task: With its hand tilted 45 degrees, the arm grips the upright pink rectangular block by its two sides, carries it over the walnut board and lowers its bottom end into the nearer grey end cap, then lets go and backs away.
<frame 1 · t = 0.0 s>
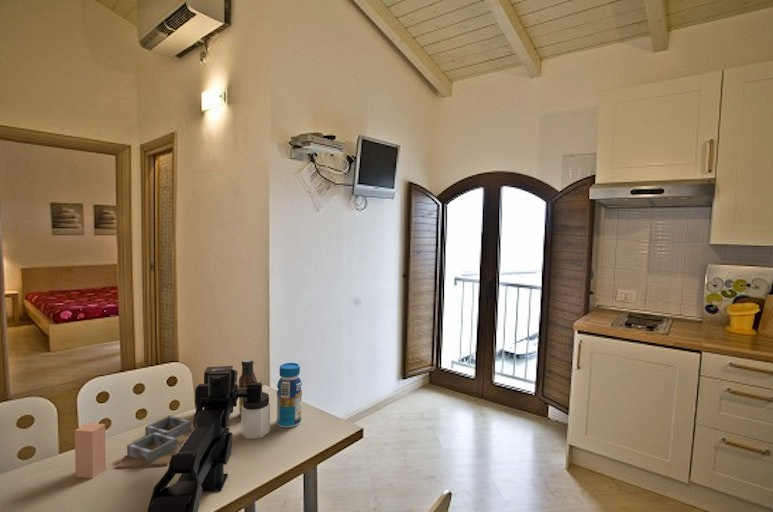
hand: (236, 384, 125), 17 cm above the table, tool horizontal, fingers open, 9 cm apart
sauce bottle: (248, 415, 139), on the table
beverage bottle: (289, 423, 135), on the table
coffee box: (218, 413, 141), on the table
cap board: (161, 443, 119), on the table
pink rectangular block: (90, 472, 104), on the table
jar: (255, 433, 127), on the table
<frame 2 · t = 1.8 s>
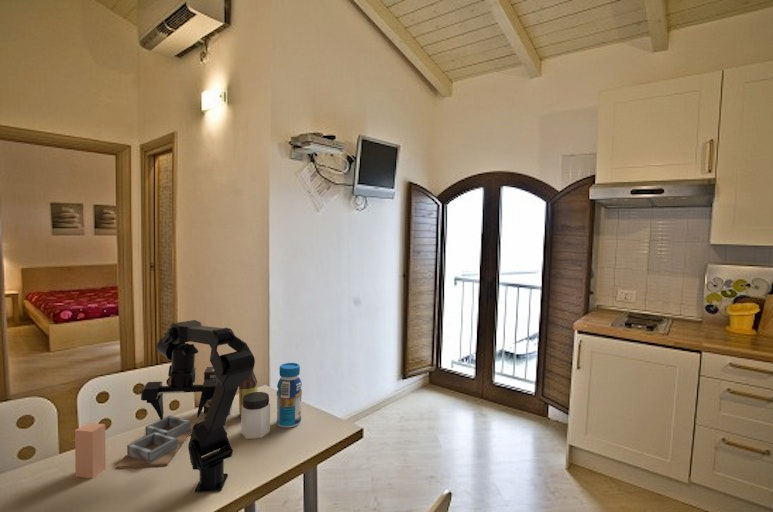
hand: (180, 417, 111), 12 cm above the table, tool pointing down, fingers open, 9 cm apart
nothing on the table moved.
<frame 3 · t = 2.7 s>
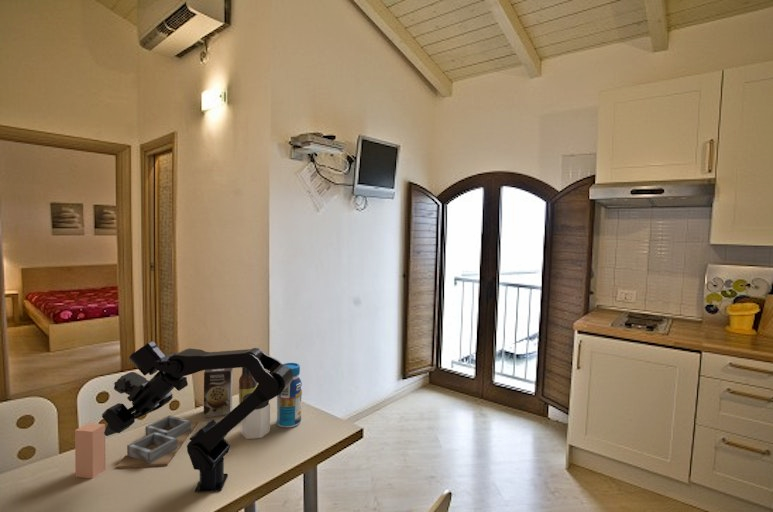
hand: (119, 425, 103), 13 cm above the table, tool tilted 45°, fingers open, 9 cm apart
nothing on the table moved.
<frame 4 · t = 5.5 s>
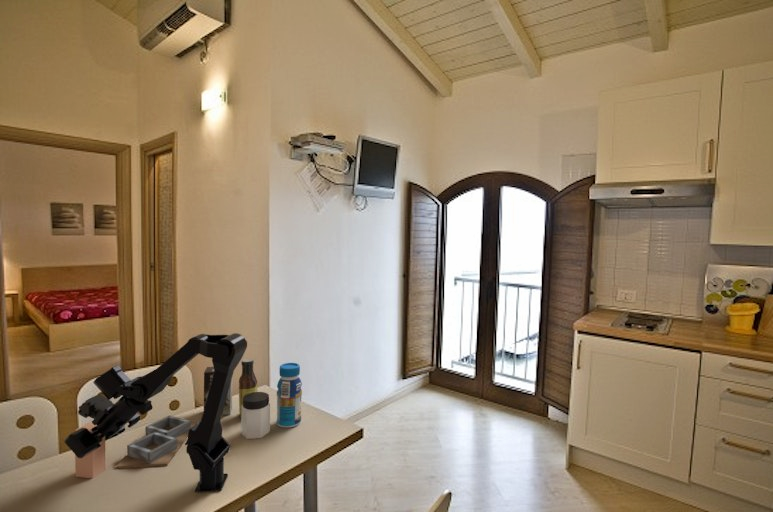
hand: (85, 448, 104), 7 cm above the table, tool tilted 45°, fingers closed on pink rectangular block, 4 cm apart
pink rectangular block: (90, 472, 104), on the table, touching gripper
everything else where it was.
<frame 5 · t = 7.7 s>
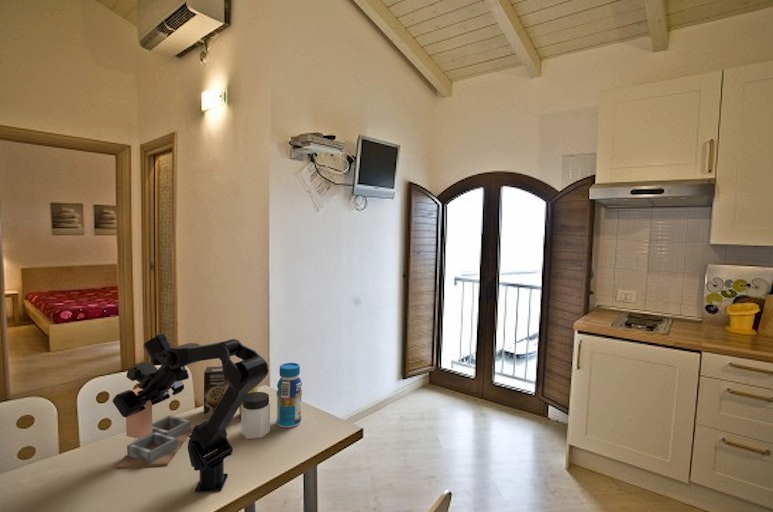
hand: (135, 410, 112), 13 cm above the table, tool tilted 45°, fingers closed on pink rectangular block, 4 cm apart
pink rectangular block: (139, 434, 111), point 7 cm above the table, touching gripper
everything else where it was.
when the fingers open (8 cm above the table, at t = 9.6 s): pink rectangular block drops 1 cm, resting on cap board.
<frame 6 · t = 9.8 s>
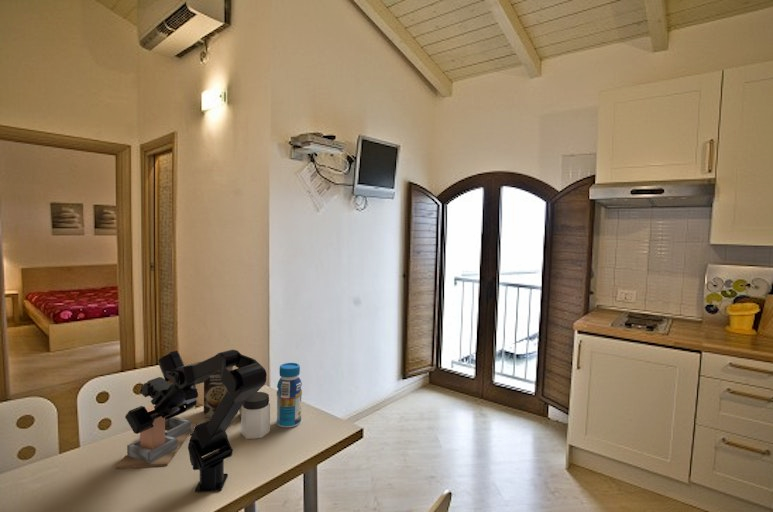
hand: (149, 424, 114), 8 cm above the table, tool tilted 45°, fingers open, 6 cm apart
pink rectangular block: (152, 451, 114), point 1 cm above the table, touching cap board
everything else where it was.
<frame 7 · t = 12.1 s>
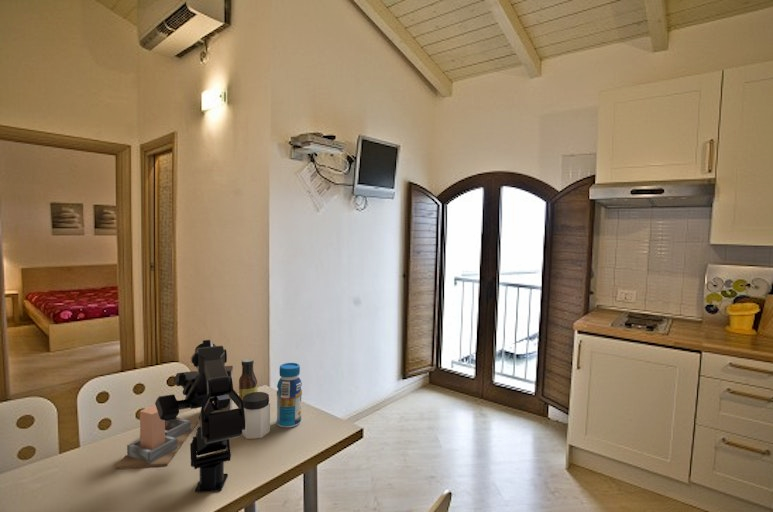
hand: (183, 422, 111), 11 cm above the table, tool tilted 35°, fingers open, 9 cm apart
nothing on the table moved.
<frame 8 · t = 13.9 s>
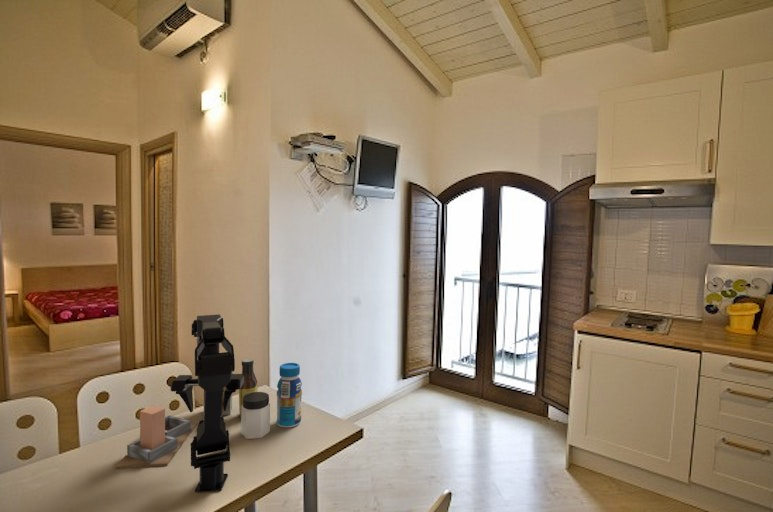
hand: (208, 411, 113), 13 cm above the table, tool pointing down, fingers open, 9 cm apart
nothing on the table moved.
at the end: pink rectangular block 0.0 cm from the target spot, point 0.6 cm above the table; pink rectangular block tilted 0°; the gripper is holding nothing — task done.
